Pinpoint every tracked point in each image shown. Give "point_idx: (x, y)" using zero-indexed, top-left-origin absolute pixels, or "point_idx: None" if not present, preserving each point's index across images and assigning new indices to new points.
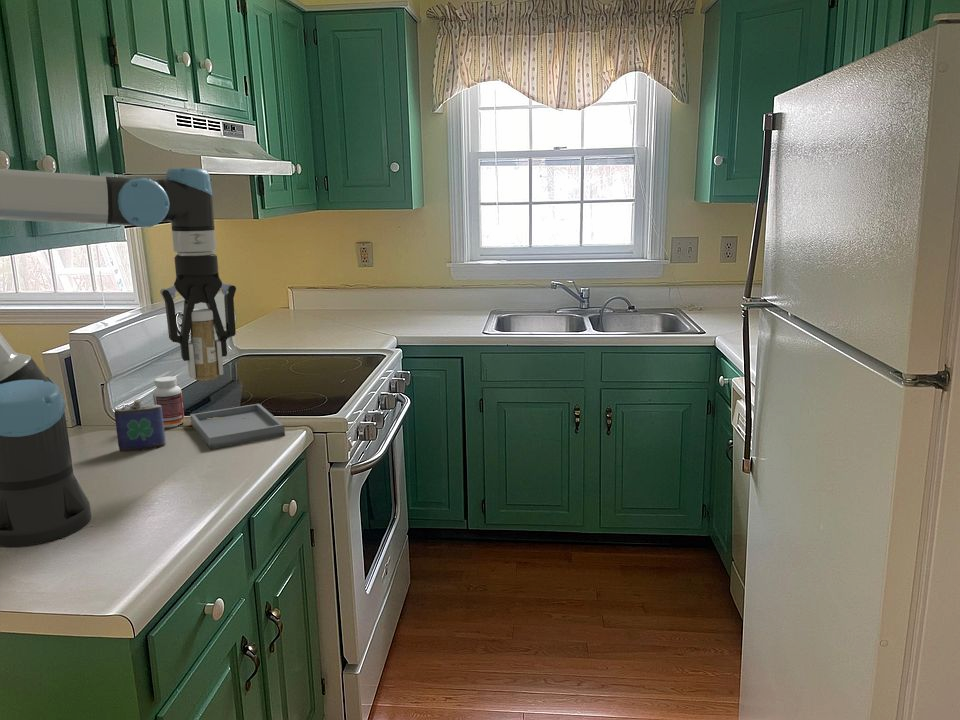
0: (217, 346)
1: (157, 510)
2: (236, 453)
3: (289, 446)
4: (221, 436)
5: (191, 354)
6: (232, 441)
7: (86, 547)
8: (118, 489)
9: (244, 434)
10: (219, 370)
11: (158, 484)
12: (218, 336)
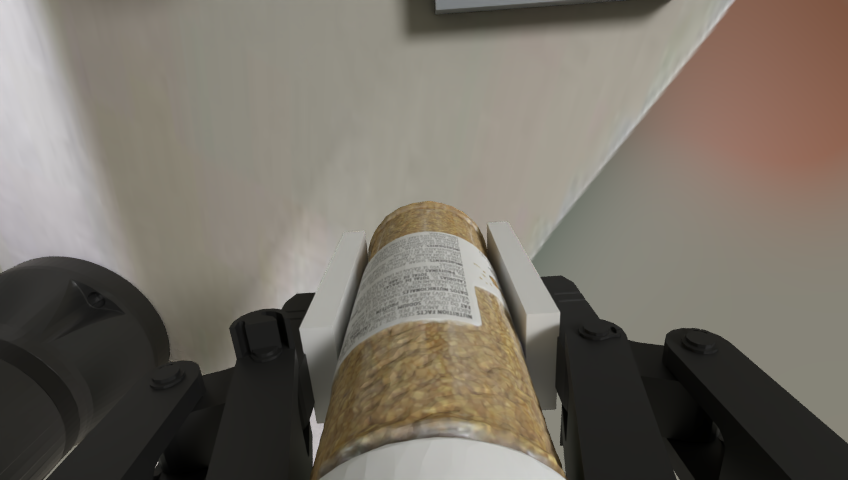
0: None
1: None
2: (496, 96)
3: (644, 112)
4: (476, 6)
5: None
6: (506, 7)
7: None
8: (200, 216)
9: (551, 2)
10: None
11: (288, 229)
12: (565, 379)
